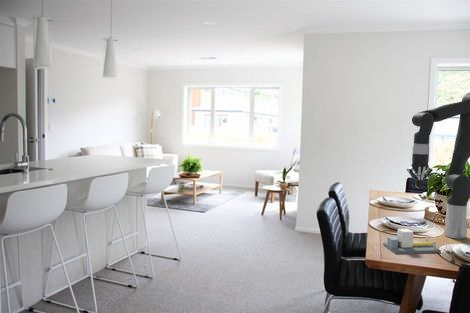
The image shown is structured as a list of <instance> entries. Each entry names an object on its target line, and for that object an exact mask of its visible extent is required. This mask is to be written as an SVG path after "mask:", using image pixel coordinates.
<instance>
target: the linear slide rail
mask: <svg viewBox="0 0 470 313" xmlns="http://www.w3.org/2000/svg"><path fill="white" fill-rule="evenodd" d="M429 239H430V238H429V236H425V241H413V246H412V247H407V248H402V247H401V243H400V242H398V240H397V237H394V236H387V240H386V241H387V242H383V243H382V244H383V246H384V247H385V248H386V249H388V250H390V251H391V252H392V253H393V254H396V255H397V254H398V255H399V254H434V253H435V254H437V253H438V254H440V253H442V249H440V248H438V247H437V241H436V240H432V241H429Z"/></svg>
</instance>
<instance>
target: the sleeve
mask: <svg viewBox="0 0 470 313" xmlns="http://www.w3.org/2000/svg"><path fill="white" fill-rule="evenodd" d="M396 232H397V233H396V239H397V240H398V242H400V243H401V247H402V248H407V247H412V246H413V242H414V231H413V230H411V229H409V228H397V231H396Z"/></svg>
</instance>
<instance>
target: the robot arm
mask: <svg viewBox="0 0 470 313" xmlns="http://www.w3.org/2000/svg"><path fill="white" fill-rule="evenodd" d="M457 116H459V122H458V127H457V131H456V132H457V133H456V135H455V136H456V137H455V141H454V146H453V152H452V156H451V161H450V165H449V168H448V171H447V174H446V178H445V186H446V187H447V188H448V189H450V190H452V192H451V196H449V197H447V200H446V212H445V213H446V214H445V225H444V227H445V228H444V236H445V237H448V238H451V239H455V240H456V239H457V240H458V239H459V240H462V239H467V234H468V222H469V220H468V219H467V210H468V209H467V208H468V202H469V201H470V177H469V176H467V175H465V174H464V170H465V166H466V164H467V162H468V160H469V159H470V92H467V93H465V94H464V95H463V96H462V99H461V101H458V102H452V103H448V104H443V105H441V106H438V107H434V108H432V109H427V110H423V111H418V112H416V113H414V114H413V116H412V117H411V123H412V124H413V125H414V126H416V127H418V128H419V130H418V131H416V132H415V133H414V135H413V146H412V155H411V156H412V157H411V166H410V167H409V168H408V167H407V168H406V171H407V172H408V174H409V175H410V177H411V178H412V179H414V180H415V186H416V188H422V187H423V180H426V179H427V178H428V177H429V176H430V174H431V173H432V172H433V169H432V168H431V167H430V166H429V161H430V158H429V157H430V135H431V134H432V133H431V132H432V130H433V127H434V125H435V124H434V123H438V122H442V121H445V120H448V119H452V118H453V117H457Z"/></svg>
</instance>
